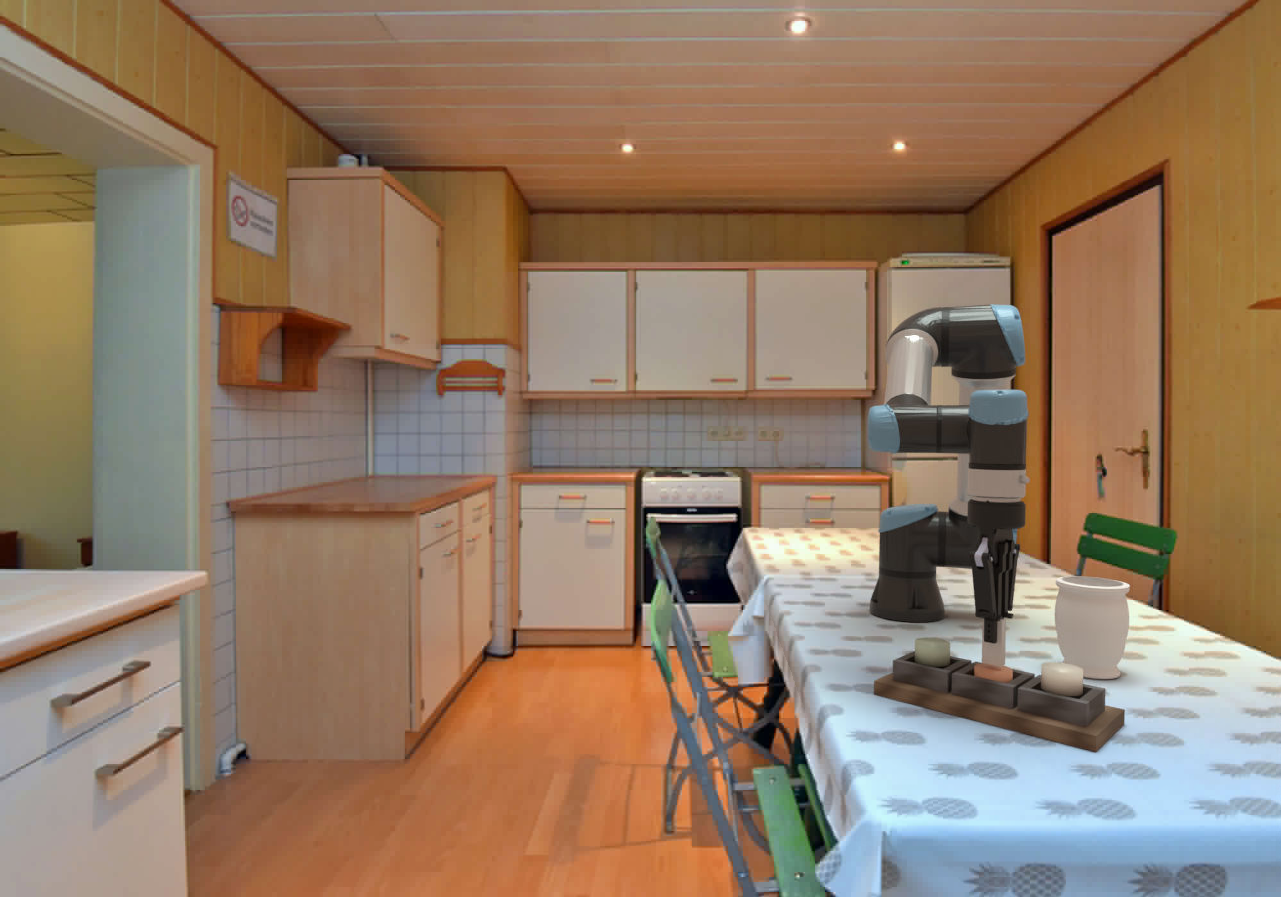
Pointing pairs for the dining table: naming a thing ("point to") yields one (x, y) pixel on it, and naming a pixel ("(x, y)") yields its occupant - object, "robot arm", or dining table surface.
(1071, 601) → the jar
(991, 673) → the button terracotta
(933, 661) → the button sage
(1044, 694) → the button board
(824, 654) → the dining table surface
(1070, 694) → the button cream
